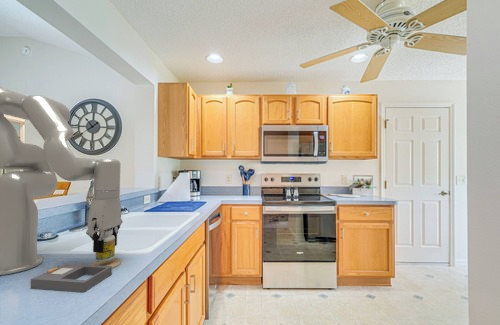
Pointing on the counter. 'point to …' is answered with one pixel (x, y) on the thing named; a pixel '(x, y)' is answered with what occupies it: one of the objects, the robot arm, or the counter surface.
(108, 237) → the supplement bottle
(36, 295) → the counter surface
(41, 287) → the gray rectangular fixture
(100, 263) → the cork coaster
